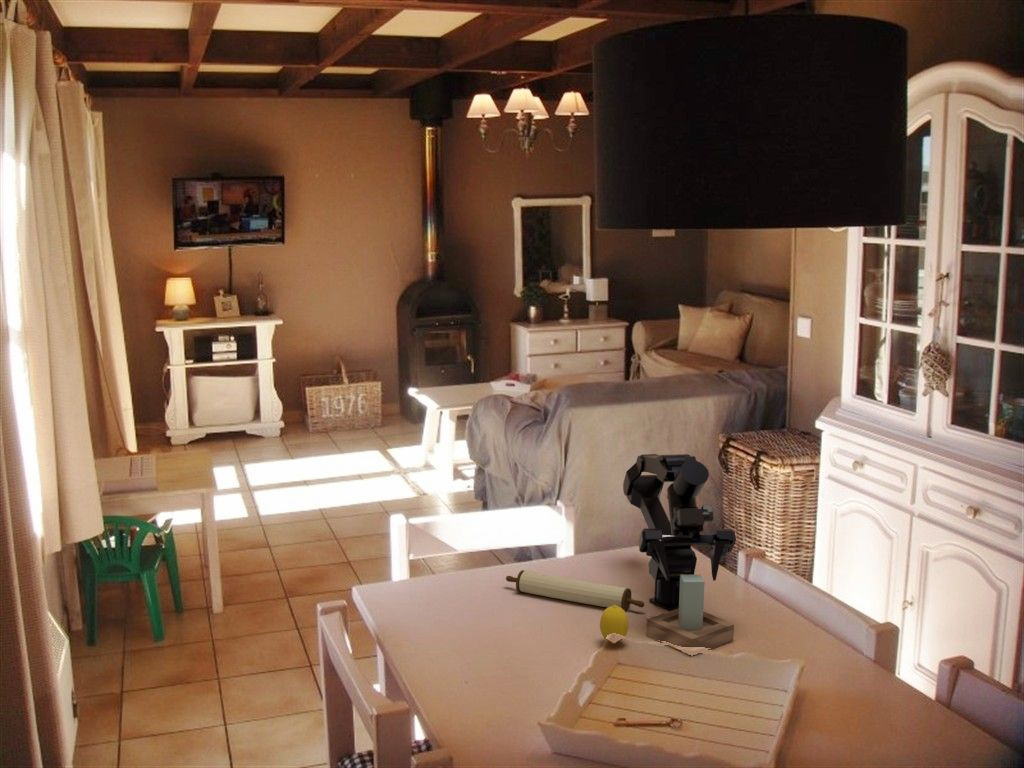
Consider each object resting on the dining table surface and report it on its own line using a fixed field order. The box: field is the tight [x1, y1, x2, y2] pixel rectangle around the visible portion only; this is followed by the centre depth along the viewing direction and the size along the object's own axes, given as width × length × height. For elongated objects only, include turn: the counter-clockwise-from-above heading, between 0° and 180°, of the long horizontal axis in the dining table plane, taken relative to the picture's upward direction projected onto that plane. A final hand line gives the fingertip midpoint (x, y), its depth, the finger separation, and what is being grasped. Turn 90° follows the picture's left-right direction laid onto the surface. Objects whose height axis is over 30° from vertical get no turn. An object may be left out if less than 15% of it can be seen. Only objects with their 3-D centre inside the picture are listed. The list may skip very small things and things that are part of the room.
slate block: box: [678, 574, 705, 631], centre depth 204 cm, size 4×4×10 cm
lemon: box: [599, 605, 630, 640], centre depth 202 cm, size 6×6×8 cm
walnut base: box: [646, 608, 735, 650], centre depth 205 cm, size 12×12×4 cm
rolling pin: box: [505, 569, 645, 612], centre depth 224 cm, size 32×6×5 cm, turn 64°
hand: (691, 579), depth 203 cm, fingers open, 9 cm apart
